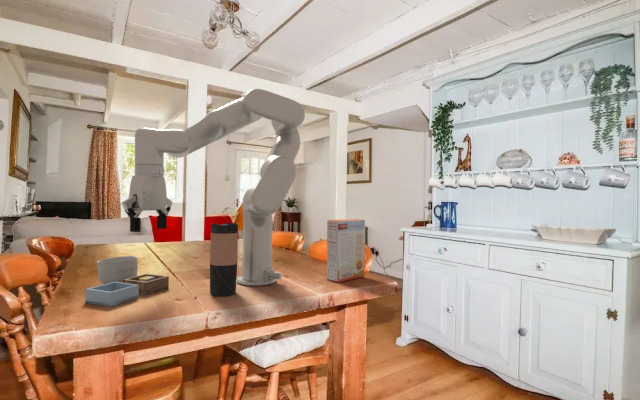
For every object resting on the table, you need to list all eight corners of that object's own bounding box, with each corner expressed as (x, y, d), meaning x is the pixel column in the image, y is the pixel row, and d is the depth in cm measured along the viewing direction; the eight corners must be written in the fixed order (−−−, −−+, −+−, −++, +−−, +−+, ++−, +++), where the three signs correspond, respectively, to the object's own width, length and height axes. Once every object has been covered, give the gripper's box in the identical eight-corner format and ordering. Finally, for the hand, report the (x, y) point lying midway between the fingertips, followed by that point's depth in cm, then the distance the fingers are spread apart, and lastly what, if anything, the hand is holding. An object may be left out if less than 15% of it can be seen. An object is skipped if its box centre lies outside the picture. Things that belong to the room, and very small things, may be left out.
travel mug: (229, 297, 94) (231, 225, 94) (203, 295, 95) (205, 224, 95) (240, 290, 101) (242, 223, 101) (217, 288, 103) (218, 222, 102)
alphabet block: (146, 289, 97) (147, 279, 97) (138, 288, 98) (138, 277, 98) (155, 287, 100) (155, 276, 100) (146, 285, 101) (147, 275, 101)
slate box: (138, 297, 92) (138, 284, 92) (110, 306, 84) (110, 292, 84) (114, 294, 94) (115, 281, 94) (85, 302, 86) (85, 288, 86)
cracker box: (352, 274, 127) (353, 218, 127) (364, 277, 123) (366, 219, 123) (325, 279, 118) (326, 219, 118) (337, 283, 114) (339, 220, 114)
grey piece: (118, 290, 98) (119, 262, 98) (87, 287, 101) (87, 260, 101) (151, 279, 112) (152, 255, 112) (123, 277, 114) (123, 253, 114)
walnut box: (168, 287, 102) (168, 276, 102) (146, 295, 94) (146, 282, 94) (146, 285, 105) (146, 273, 105) (122, 291, 97) (123, 279, 97)
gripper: (161, 173, 109) (161, 227, 109) (113, 169, 92) (113, 232, 92) (180, 173, 106) (180, 228, 106) (134, 169, 90) (134, 233, 90)
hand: (149, 230), depth 99 cm, fingers open, 9 cm apart
